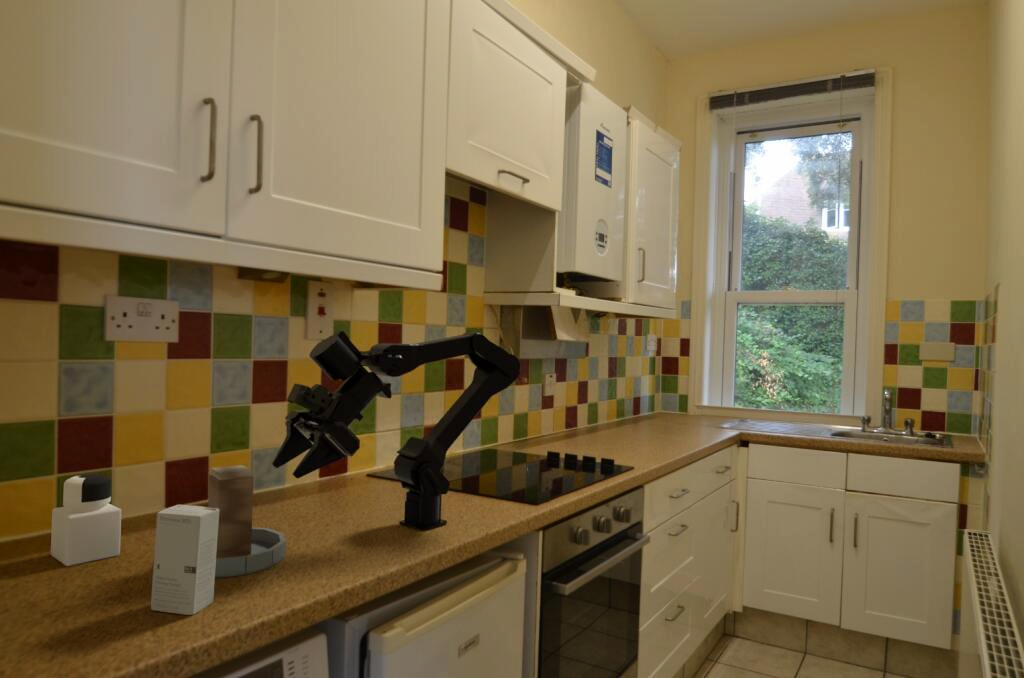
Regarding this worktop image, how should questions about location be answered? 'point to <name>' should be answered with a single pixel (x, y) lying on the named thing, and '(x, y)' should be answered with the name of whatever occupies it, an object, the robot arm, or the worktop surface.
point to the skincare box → (184, 559)
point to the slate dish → (254, 554)
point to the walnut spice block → (232, 509)
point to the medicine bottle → (86, 521)
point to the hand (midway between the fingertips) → (284, 471)
